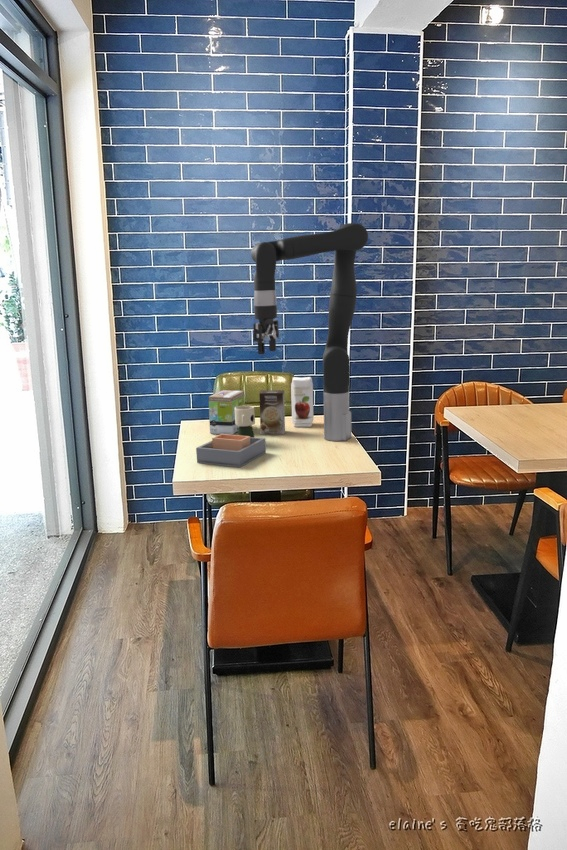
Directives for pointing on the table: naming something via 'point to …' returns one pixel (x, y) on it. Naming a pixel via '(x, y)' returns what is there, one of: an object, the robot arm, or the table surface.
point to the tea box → (224, 411)
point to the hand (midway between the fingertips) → (267, 352)
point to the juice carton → (302, 401)
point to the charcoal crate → (231, 454)
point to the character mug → (245, 420)
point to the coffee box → (272, 412)
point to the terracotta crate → (230, 442)
